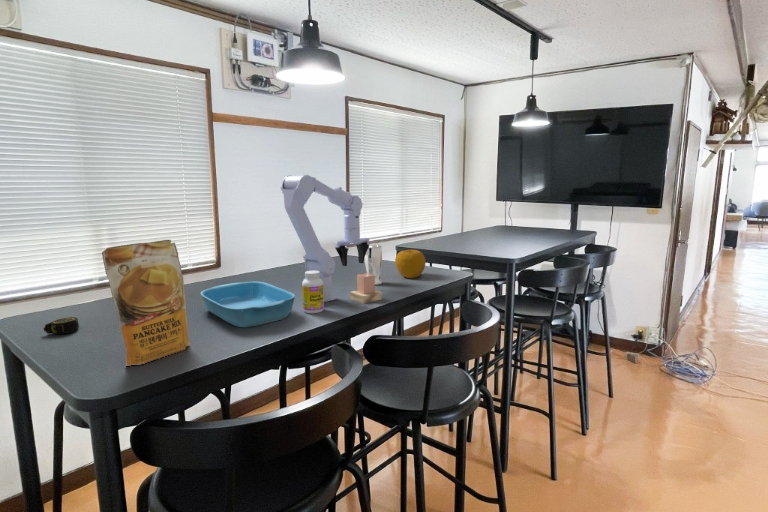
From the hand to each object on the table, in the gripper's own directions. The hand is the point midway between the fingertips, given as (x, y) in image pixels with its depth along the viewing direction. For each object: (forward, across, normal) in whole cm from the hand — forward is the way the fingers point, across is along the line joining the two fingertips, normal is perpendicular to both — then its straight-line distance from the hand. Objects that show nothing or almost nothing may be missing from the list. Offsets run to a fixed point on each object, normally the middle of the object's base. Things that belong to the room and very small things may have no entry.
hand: (352, 264), depth 170 cm
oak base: (+10, -4, -13) cm, 17 cm away
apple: (+10, +31, +2) cm, 33 cm away
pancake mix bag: (+10, -73, -19) cm, 76 cm away
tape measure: (+10, -89, +18) cm, 92 cm away
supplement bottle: (+10, -25, -13) cm, 30 cm away
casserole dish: (+10, -42, -1) cm, 43 cm away
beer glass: (+10, +12, +3) cm, 16 cm away
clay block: (+7, -4, -13) cm, 16 cm away
